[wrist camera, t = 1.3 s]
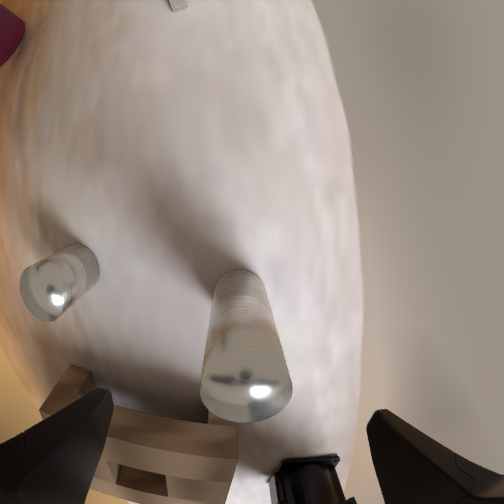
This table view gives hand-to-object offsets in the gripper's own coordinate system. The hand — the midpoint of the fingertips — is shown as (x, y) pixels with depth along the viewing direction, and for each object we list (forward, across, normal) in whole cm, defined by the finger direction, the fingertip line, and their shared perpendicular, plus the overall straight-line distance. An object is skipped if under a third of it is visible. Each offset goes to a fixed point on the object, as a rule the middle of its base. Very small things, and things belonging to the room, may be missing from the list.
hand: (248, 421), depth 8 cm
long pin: (+10, 0, 0) cm, 10 cm away
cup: (+10, +24, -18) cm, 32 cm away
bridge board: (+10, +6, +15) cm, 19 cm away
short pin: (+10, +11, 0) cm, 15 cm away
